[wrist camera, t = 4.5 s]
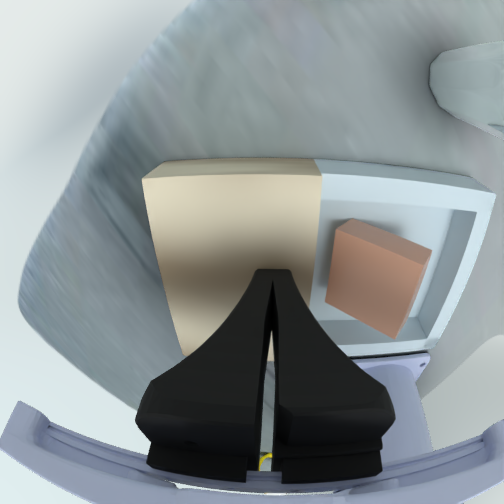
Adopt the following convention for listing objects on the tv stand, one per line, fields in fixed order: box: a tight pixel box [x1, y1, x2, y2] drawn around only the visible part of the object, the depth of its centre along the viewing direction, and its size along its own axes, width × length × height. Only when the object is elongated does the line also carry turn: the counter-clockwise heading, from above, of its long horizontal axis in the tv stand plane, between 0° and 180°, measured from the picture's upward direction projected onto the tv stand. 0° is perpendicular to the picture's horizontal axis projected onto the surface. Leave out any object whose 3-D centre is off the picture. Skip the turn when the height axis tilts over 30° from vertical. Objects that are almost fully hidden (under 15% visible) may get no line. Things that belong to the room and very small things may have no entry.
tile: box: [325, 218, 432, 340], centre depth 12 cm, size 4×4×2 cm
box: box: [309, 159, 496, 356], centre depth 13 cm, size 10×8×2 cm
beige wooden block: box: [142, 158, 322, 361], centre depth 13 cm, size 10×6×2 cm, turn 1°
